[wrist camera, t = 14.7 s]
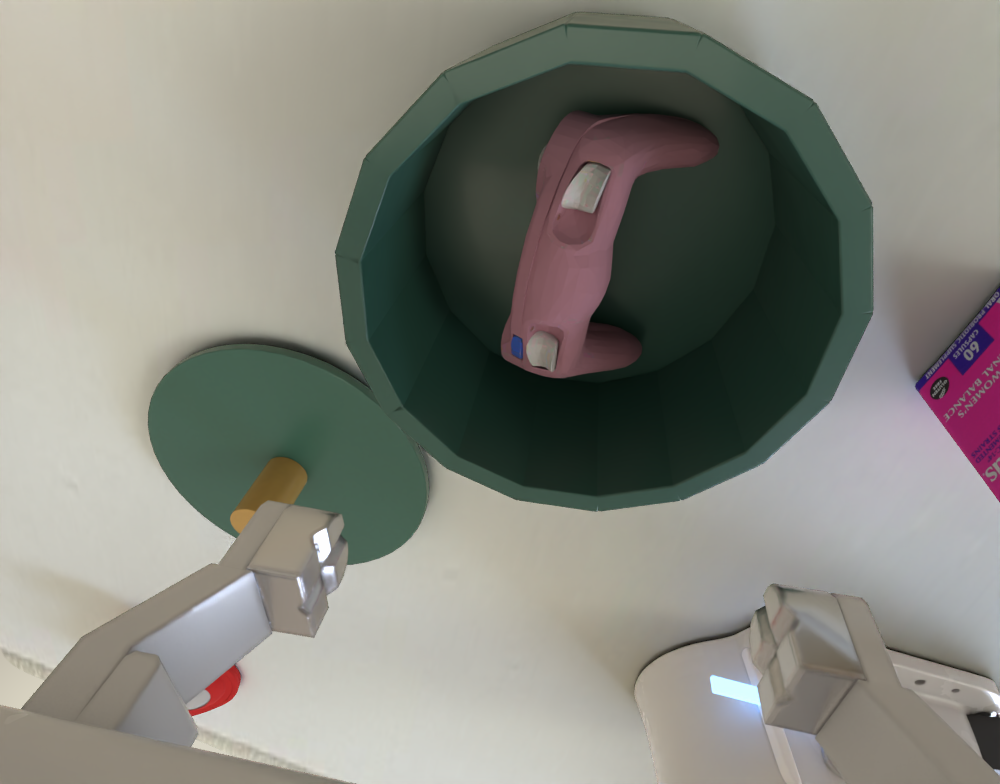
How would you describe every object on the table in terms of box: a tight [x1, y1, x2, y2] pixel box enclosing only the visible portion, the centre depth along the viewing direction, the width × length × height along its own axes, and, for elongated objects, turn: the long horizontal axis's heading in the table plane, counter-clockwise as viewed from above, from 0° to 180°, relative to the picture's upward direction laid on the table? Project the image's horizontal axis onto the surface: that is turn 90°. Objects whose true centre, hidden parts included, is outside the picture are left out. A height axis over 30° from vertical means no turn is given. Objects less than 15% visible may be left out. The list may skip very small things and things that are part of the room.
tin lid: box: [148, 344, 429, 565], centre depth 31 cm, size 16×16×5 cm
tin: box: [335, 12, 873, 512], centre depth 20 cm, size 15×15×8 cm
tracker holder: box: [186, 665, 241, 716], centre depth 48 cm, size 12×4×10 cm
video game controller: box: [501, 110, 719, 378], centre depth 21 cm, size 10×5×7 cm, turn 170°
